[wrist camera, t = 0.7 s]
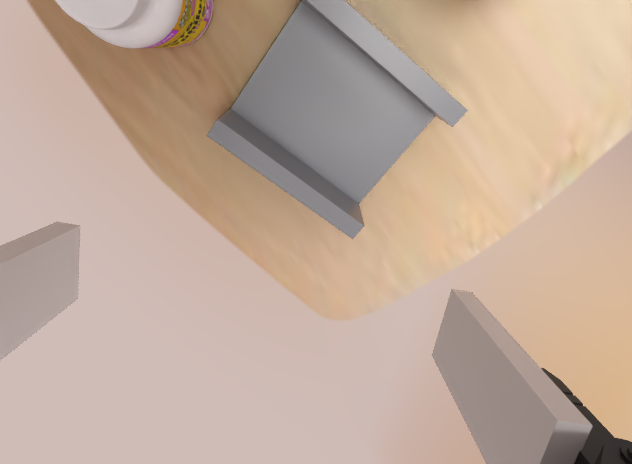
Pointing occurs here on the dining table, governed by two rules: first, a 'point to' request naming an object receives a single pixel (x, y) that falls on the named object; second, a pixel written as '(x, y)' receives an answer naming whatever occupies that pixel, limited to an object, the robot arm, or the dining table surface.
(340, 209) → the u cradle
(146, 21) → the supplement bottle
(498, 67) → the dining table surface
